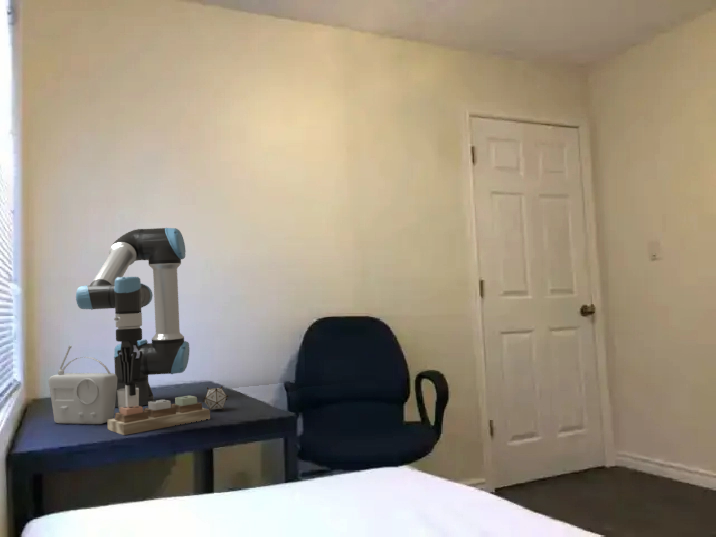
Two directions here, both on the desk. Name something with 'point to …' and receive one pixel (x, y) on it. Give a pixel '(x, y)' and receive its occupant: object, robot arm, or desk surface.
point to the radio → (83, 396)
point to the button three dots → (131, 410)
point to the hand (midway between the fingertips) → (131, 406)
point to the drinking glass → (122, 398)
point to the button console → (157, 418)
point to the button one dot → (185, 400)
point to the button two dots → (159, 404)
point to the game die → (215, 398)
